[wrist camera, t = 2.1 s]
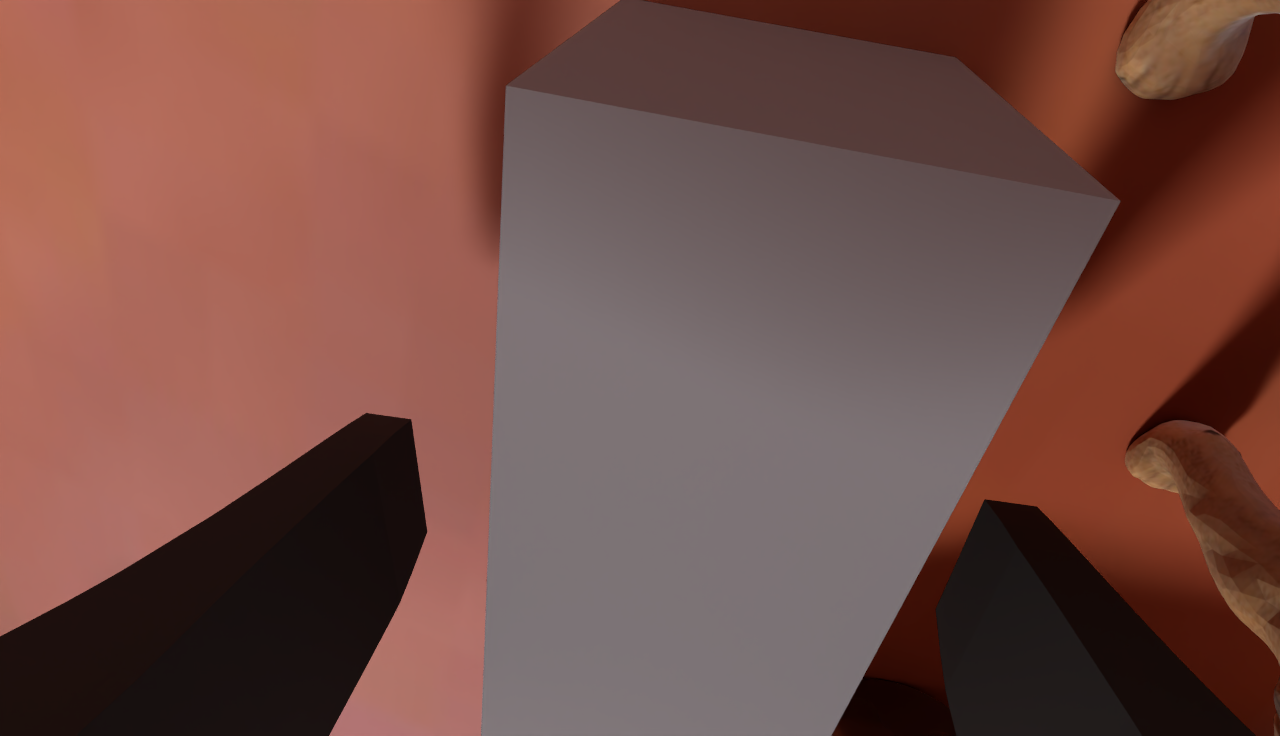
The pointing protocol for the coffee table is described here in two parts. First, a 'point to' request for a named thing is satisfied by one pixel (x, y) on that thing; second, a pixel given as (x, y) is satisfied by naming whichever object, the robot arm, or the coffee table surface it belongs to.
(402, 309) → the coffee table surface
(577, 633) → the block
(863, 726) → the trolley
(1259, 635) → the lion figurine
